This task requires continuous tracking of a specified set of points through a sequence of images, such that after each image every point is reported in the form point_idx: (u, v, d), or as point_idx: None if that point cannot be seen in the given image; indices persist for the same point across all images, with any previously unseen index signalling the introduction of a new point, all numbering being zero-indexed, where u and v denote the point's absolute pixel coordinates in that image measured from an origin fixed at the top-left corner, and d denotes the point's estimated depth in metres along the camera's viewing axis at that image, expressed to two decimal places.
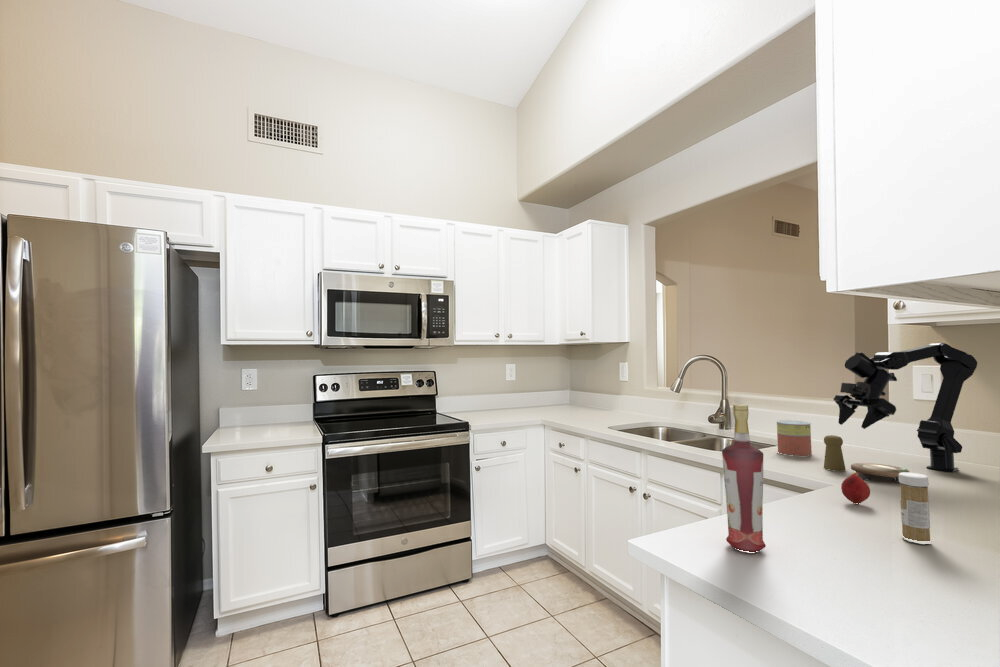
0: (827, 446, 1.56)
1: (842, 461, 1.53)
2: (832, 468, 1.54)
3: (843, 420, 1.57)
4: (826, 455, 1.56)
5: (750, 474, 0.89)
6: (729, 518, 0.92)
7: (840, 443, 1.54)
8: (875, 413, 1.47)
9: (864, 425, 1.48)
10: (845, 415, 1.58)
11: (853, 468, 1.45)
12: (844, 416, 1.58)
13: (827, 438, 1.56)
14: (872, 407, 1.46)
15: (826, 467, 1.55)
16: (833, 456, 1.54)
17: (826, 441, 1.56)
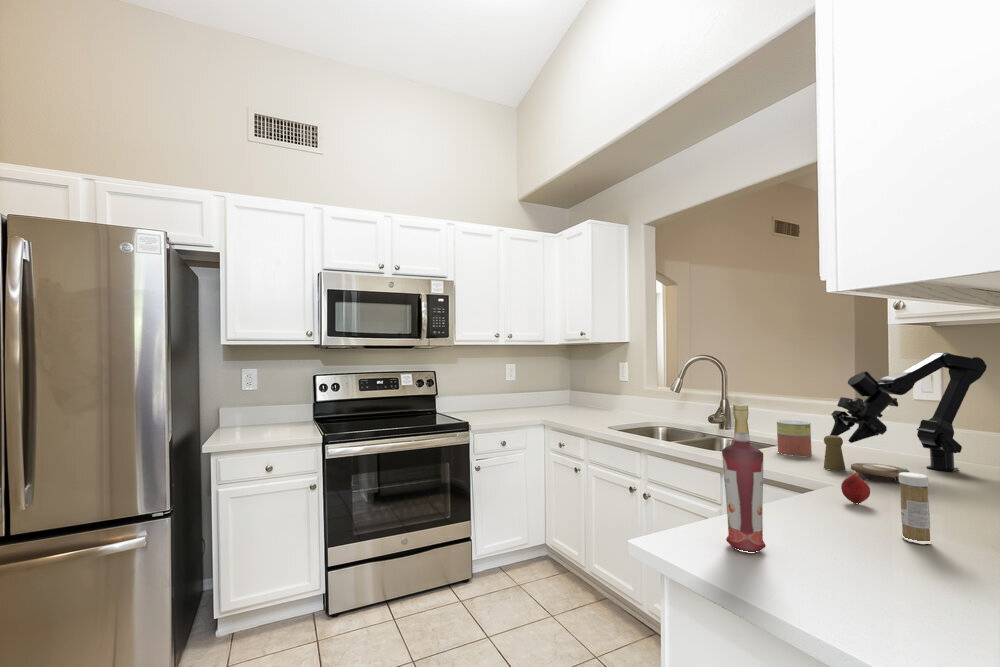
0: (827, 446, 1.56)
1: (842, 461, 1.53)
2: (832, 468, 1.54)
3: (835, 434, 1.60)
4: (826, 455, 1.56)
5: (750, 474, 0.89)
6: (729, 518, 0.92)
7: (840, 443, 1.54)
8: (865, 430, 1.50)
9: (851, 439, 1.51)
10: (838, 430, 1.61)
11: (853, 468, 1.45)
12: (837, 431, 1.61)
13: (827, 438, 1.56)
14: (862, 423, 1.49)
15: (826, 467, 1.55)
16: (833, 456, 1.54)
17: (826, 441, 1.56)
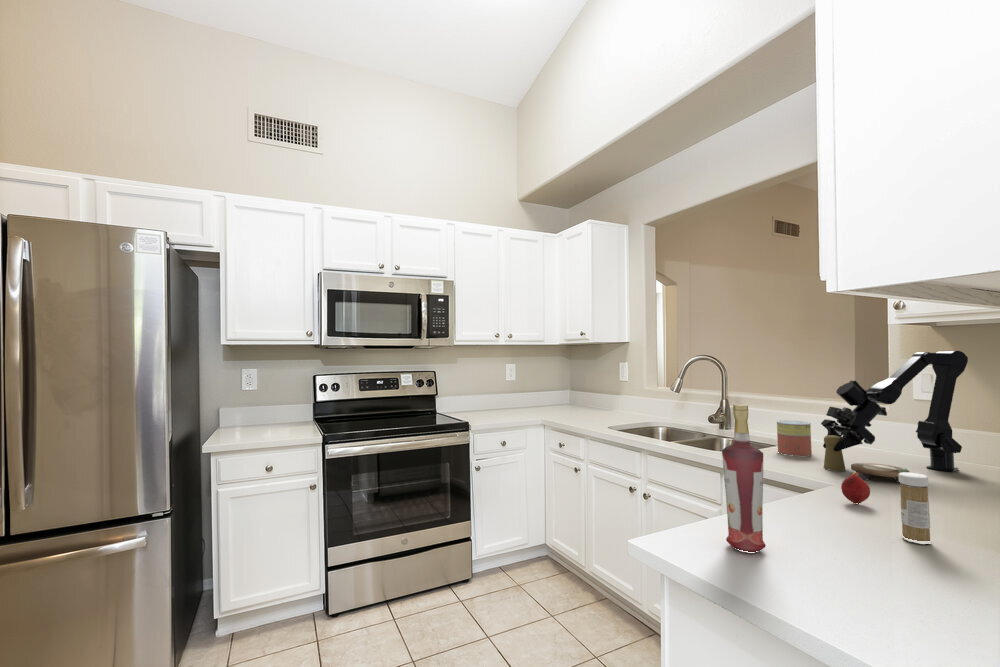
0: (827, 446, 1.56)
1: (842, 461, 1.53)
2: (832, 468, 1.54)
3: None
4: (826, 455, 1.56)
5: (750, 474, 0.89)
6: (729, 518, 0.92)
7: None
8: (849, 439, 1.52)
9: (836, 448, 1.53)
10: None
11: (853, 468, 1.45)
12: None
13: (827, 438, 1.56)
14: (847, 432, 1.51)
15: (826, 467, 1.55)
16: (833, 456, 1.54)
17: (826, 441, 1.56)
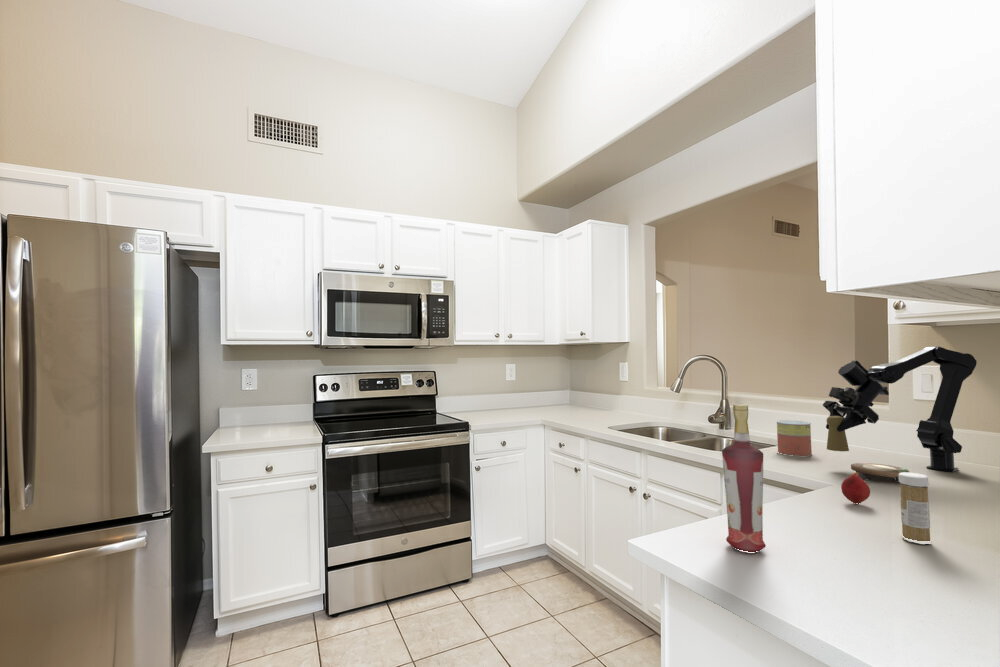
0: (830, 427, 1.55)
1: (845, 441, 1.53)
2: (836, 448, 1.53)
3: None
4: (829, 436, 1.55)
5: (750, 474, 0.89)
6: (729, 518, 0.92)
7: None
8: (853, 419, 1.52)
9: (840, 428, 1.52)
10: None
11: (853, 468, 1.45)
12: None
13: (830, 418, 1.55)
14: (850, 412, 1.50)
15: (829, 448, 1.54)
16: (837, 437, 1.53)
17: (829, 422, 1.55)
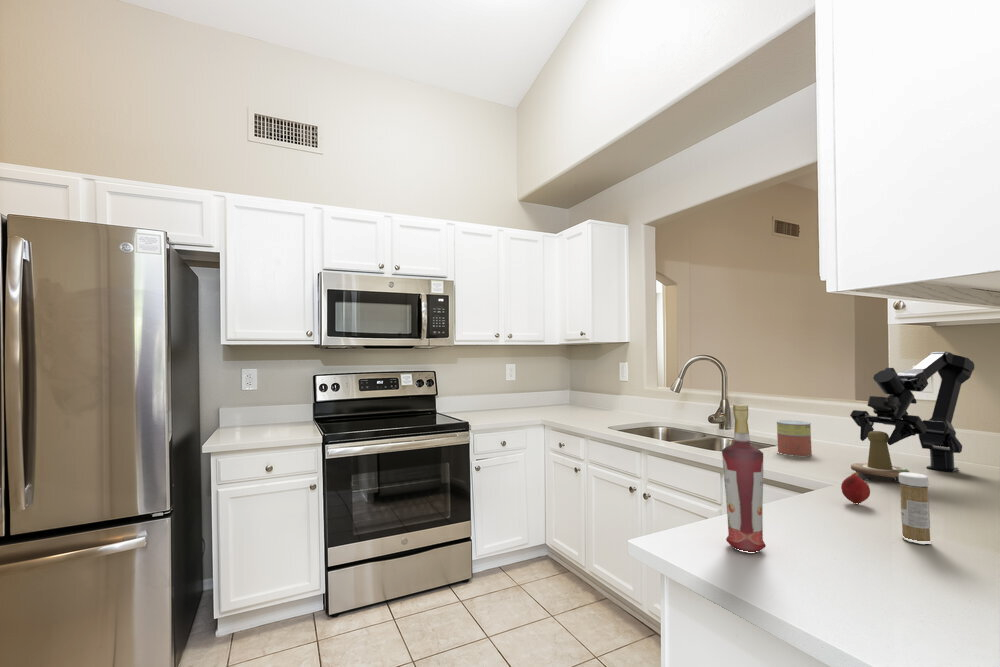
0: (874, 443, 1.43)
1: (890, 459, 1.42)
2: (883, 467, 1.41)
3: (864, 436, 1.48)
4: (873, 453, 1.43)
5: (750, 474, 0.89)
6: (729, 518, 0.92)
7: (888, 439, 1.42)
8: (901, 430, 1.41)
9: (891, 441, 1.40)
10: (866, 432, 1.48)
11: (853, 468, 1.45)
12: (865, 433, 1.48)
13: (875, 434, 1.43)
14: (902, 423, 1.39)
15: (875, 466, 1.42)
16: (883, 454, 1.42)
17: (875, 438, 1.43)
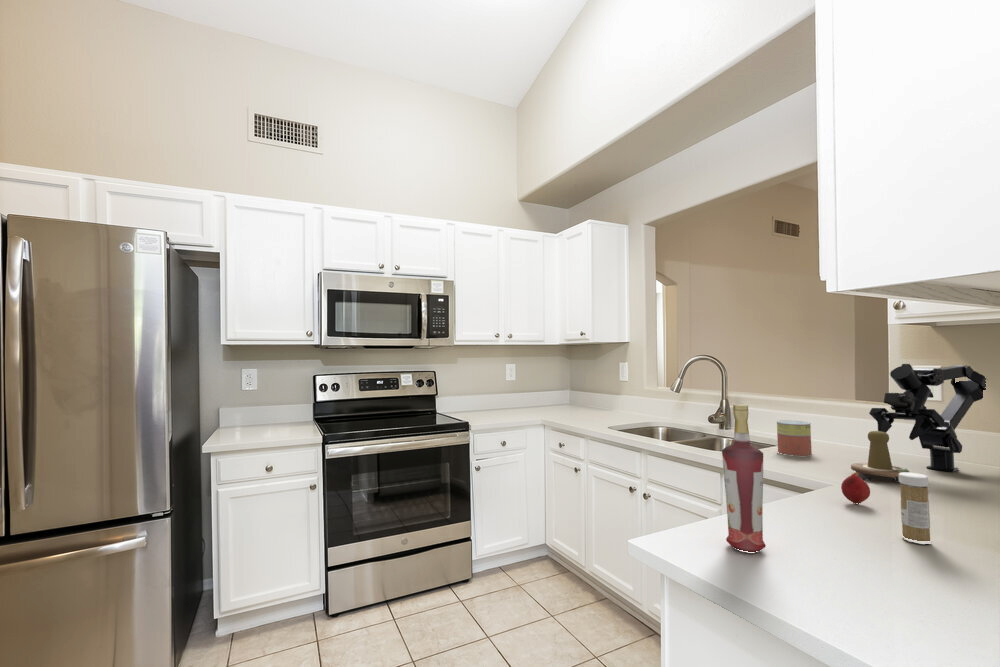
0: (874, 443, 1.43)
1: (890, 459, 1.42)
2: (883, 467, 1.41)
3: None
4: (873, 453, 1.43)
5: (750, 474, 0.89)
6: (729, 518, 0.92)
7: (888, 439, 1.42)
8: (922, 425, 1.43)
9: (912, 436, 1.42)
10: (884, 428, 1.52)
11: (853, 468, 1.45)
12: (883, 429, 1.52)
13: (875, 434, 1.43)
14: (922, 417, 1.42)
15: (875, 466, 1.42)
16: (883, 454, 1.42)
17: (875, 438, 1.43)
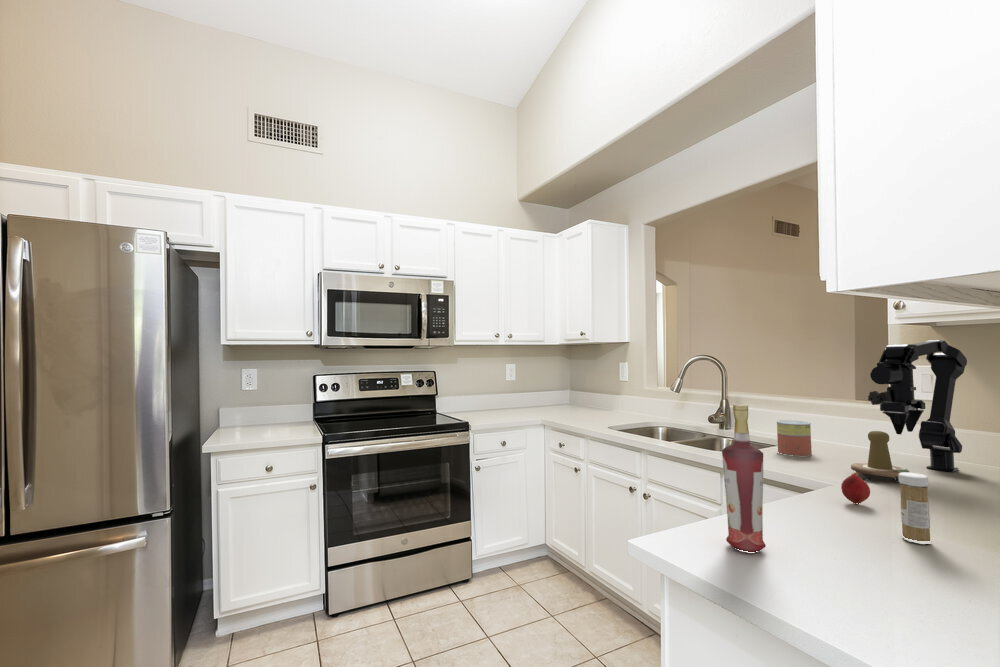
0: (874, 443, 1.43)
1: (890, 458, 1.42)
2: (883, 467, 1.41)
3: (909, 426, 1.51)
4: (874, 453, 1.43)
5: (750, 474, 0.89)
6: (729, 518, 0.92)
7: (888, 439, 1.42)
8: (897, 416, 1.45)
9: (897, 431, 1.46)
10: (910, 420, 1.51)
11: (853, 468, 1.45)
12: (909, 422, 1.51)
13: (875, 434, 1.43)
14: (884, 413, 1.47)
15: (875, 466, 1.42)
16: (883, 454, 1.42)
17: (875, 438, 1.43)
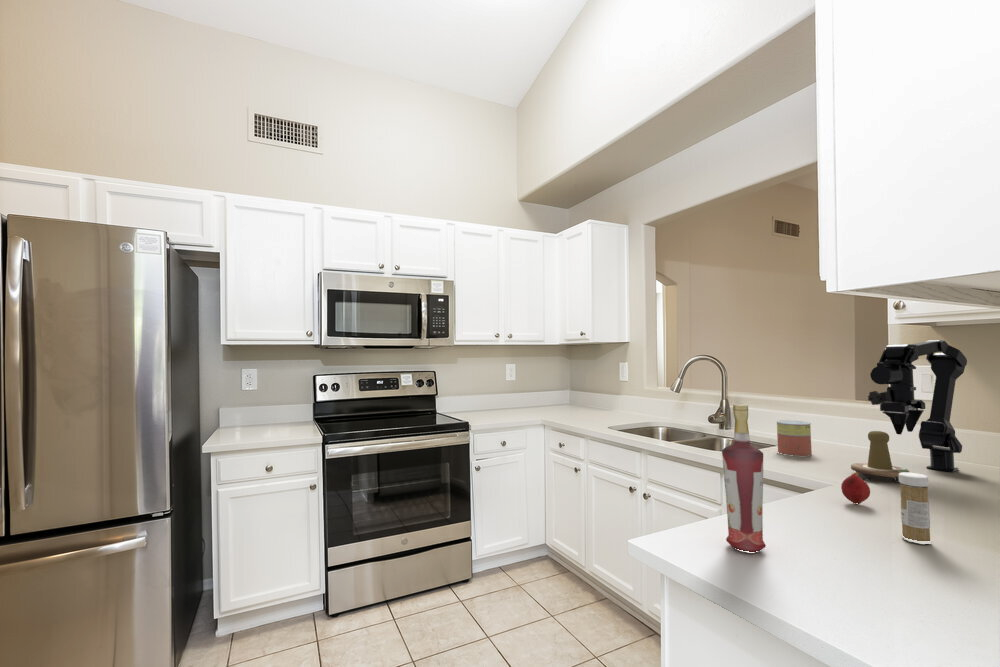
0: (874, 443, 1.43)
1: (890, 459, 1.42)
2: (883, 467, 1.41)
3: (909, 426, 1.51)
4: (874, 453, 1.43)
5: (750, 474, 0.89)
6: (729, 518, 0.92)
7: (888, 439, 1.42)
8: (897, 416, 1.45)
9: (897, 431, 1.46)
10: (910, 420, 1.51)
11: (853, 468, 1.45)
12: (909, 422, 1.51)
13: (875, 434, 1.43)
14: (884, 413, 1.47)
15: (875, 466, 1.42)
16: (883, 454, 1.42)
17: (875, 438, 1.43)
